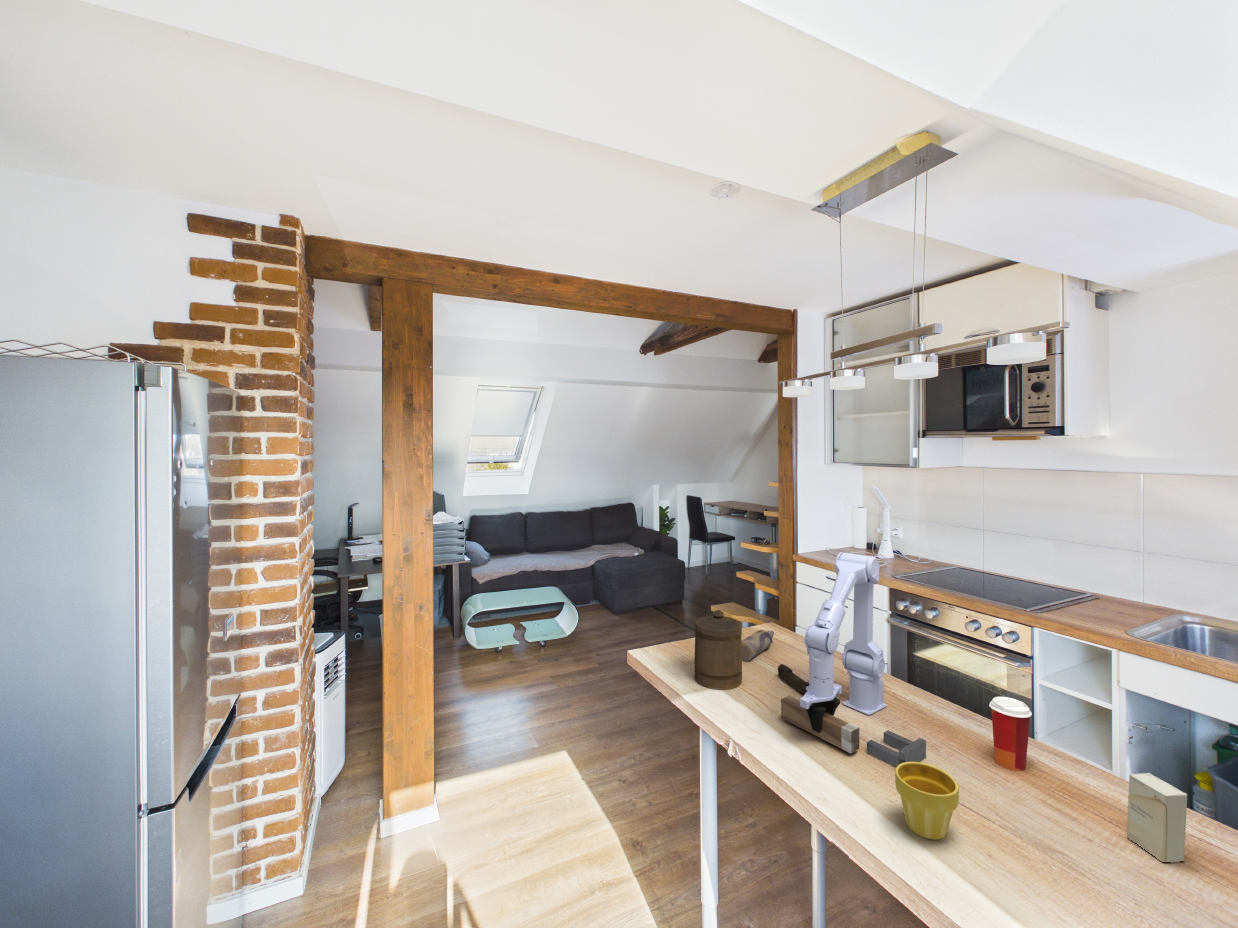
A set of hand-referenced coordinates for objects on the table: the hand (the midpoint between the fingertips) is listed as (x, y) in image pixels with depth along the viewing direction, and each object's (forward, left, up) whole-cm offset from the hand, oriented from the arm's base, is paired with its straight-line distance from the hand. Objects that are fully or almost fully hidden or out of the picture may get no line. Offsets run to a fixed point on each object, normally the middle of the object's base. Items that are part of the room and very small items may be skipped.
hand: (821, 728), depth 129 cm
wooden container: (-3, -39, -3) cm, 39 cm away
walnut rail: (0, -1, -1) cm, 2 cm away
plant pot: (+11, +30, -3) cm, 32 cm away
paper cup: (-26, +31, -3) cm, 40 cm away
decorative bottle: (-32, -47, -3) cm, 57 cm away
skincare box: (-17, +56, -3) cm, 59 cm away
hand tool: (-18, -21, -3) cm, 28 cm away
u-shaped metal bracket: (-8, +15, -2) cm, 17 cm away
